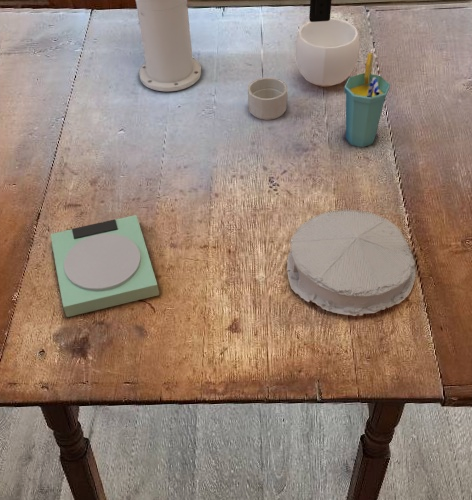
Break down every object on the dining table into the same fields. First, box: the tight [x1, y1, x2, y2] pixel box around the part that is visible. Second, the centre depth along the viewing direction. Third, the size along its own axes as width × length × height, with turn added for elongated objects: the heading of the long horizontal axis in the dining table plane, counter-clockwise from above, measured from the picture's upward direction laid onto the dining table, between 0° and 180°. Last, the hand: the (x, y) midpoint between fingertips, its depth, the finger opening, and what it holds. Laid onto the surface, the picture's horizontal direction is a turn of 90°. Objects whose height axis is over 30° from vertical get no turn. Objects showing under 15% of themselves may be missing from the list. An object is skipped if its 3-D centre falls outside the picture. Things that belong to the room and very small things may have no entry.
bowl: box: [247, 77, 288, 121], centre depth 128 cm, size 7×7×4 cm
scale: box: [50, 214, 160, 318], centre depth 105 cm, size 16×14×3 cm
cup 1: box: [294, 17, 361, 88], centre depth 132 cm, size 12×12×10 cm
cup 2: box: [344, 52, 391, 148], centre depth 117 cm, size 14×8×15 cm, turn 2°
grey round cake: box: [286, 207, 417, 317], centre depth 101 cm, size 20×20×7 cm
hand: (315, 5), depth 109 cm, fingers open, 9 cm apart
